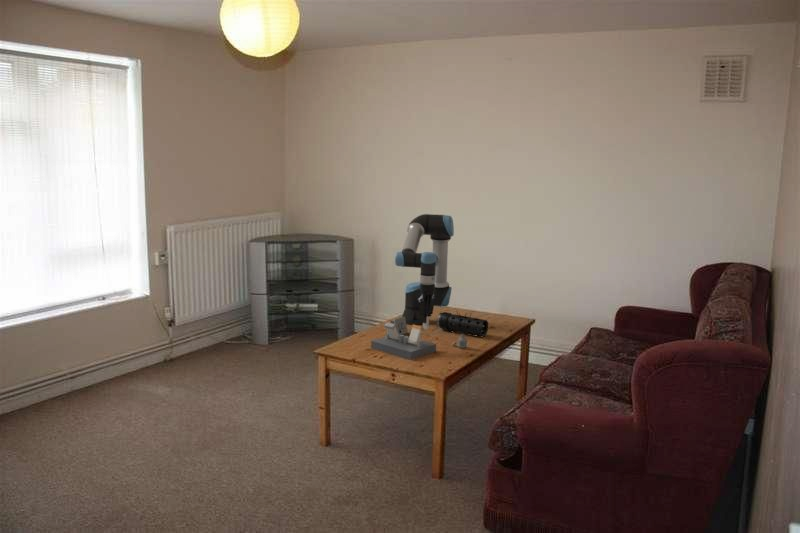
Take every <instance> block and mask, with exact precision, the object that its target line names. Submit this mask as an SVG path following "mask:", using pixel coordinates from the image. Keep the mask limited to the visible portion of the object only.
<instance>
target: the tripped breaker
mask: <svg viewBox="0 0 800 533" xmlns="http://www.w3.org/2000/svg"><path fill="white" fill-rule="evenodd" d="M424 330H425V329H424V328H423V325H422V326H421V325H414V324H413V325H411V331H410V334H409V335H408V337H409V339H408V341H407V343H410V344H414V345H418V341H419V339H420V340H421V336H422V333H423V331H424Z"/></svg>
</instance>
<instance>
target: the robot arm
mask: <svg viewBox="0 0 800 533" xmlns="http://www.w3.org/2000/svg"><path fill="white" fill-rule="evenodd" d="M454 228H455V227H454V220H453V217H452V215H447V214H432V213H431V214H429V213H424V214H420V215H418V216H416V217H415V218H413V219H412V220H410V222H409V223H408V226H407V230H406V231H407V234H406V238H405V240H404V244H403V247H402V249H401V251H396V253H395V256H394V262H395V263H394V264H395V265H396V266H397V267H401V268H420V274H419V275H420V276H419V281H417V282H410V283H408V284H407V285H406V286H405V291H404V292H405V294H404V295H405V297H404V298H405V300H404V301H405V302H404V310H403V312H402V316H401V317H405V320H406V325H411V326H413V324H414V325H418V326H421V325H422V327H423V328H424V329H423V330H429V325H430V317H432V315H433V312H434V307H440V308H441V307H448V305H449V304H450V300H451V294H452V289H453V288H452V286H450V283H449V282H448V281H447V280H448V256H449V255H448V254H449V253H448V251H449V249H448V248H449V241H451V239H452V237H453V236H454V234H455V230H454ZM424 235H426V236H429V237H430V238H429V239H430V240H431V241H432V251H426V252H425V251H424V252H417V251H418V248H419V245H420V241H421V238H422V237H423V236H424Z"/></svg>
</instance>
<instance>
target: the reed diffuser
mask: <svg viewBox="0 0 800 533" xmlns="http://www.w3.org/2000/svg"><path fill="white" fill-rule="evenodd" d="M456 315H459V317H460V315H461V314H460V312H459V313H458V311H456ZM464 316H465V319H466V317H467V314H465V315H464ZM471 316H472V314H470V315H469V317H471ZM459 317H458V319H459ZM469 319H470V318H469ZM468 322H469V320H468ZM459 324H461V320H460V321H459ZM467 325H468V323H467ZM464 327H465V323H464ZM466 328H467V326H466ZM460 329H461V332H460V337H458V338H457V343H456V342H455V341H453V342H452V344H451V345H452V346H453V347H458V348H460V349H461V348H462V349H465V348H467V343H468V339H467V338H466V337H465V334H464V333H465V332H464V330H463V333H462V327H461V326H460ZM465 331H466V329H465Z"/></svg>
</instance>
